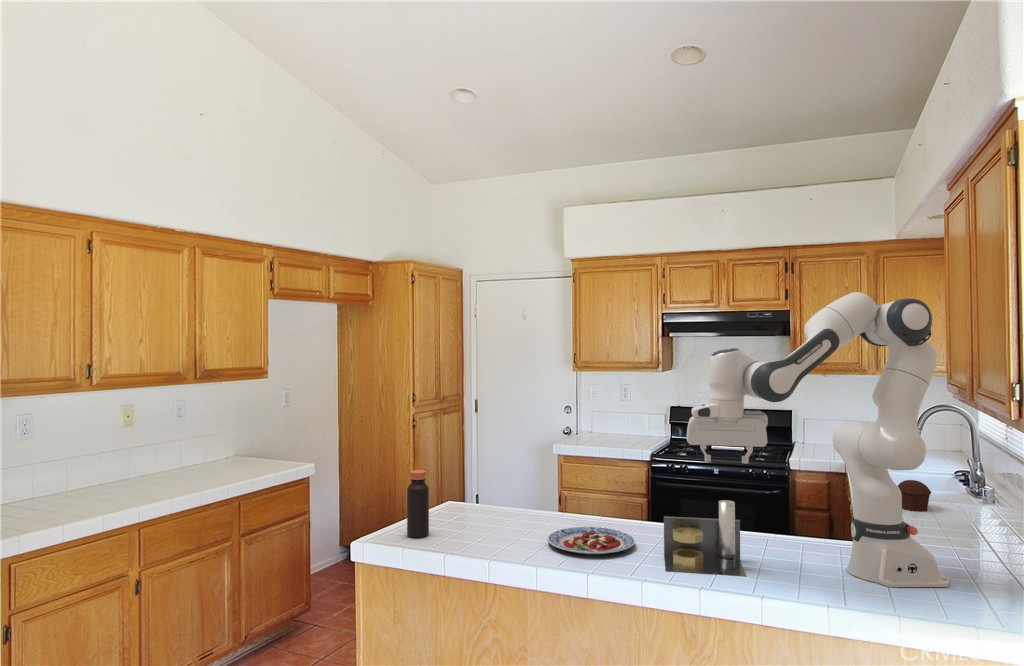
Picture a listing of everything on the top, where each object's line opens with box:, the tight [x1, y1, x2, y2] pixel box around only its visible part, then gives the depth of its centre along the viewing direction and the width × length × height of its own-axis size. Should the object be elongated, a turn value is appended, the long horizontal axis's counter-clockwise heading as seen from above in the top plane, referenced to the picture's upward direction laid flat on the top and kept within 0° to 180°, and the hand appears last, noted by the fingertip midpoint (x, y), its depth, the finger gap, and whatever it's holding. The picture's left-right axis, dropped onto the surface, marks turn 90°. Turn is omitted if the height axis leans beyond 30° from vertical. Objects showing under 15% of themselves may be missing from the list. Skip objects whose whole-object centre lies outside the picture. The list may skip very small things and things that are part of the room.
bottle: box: [406, 469, 430, 539], centre depth 207 cm, size 7×7×20 cm
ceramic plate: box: [546, 526, 636, 556], centre depth 196 cm, size 26×26×3 cm
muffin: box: [897, 479, 932, 513], centre depth 238 cm, size 12×11×10 cm
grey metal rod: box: [718, 499, 736, 570], centre depth 173 cm, size 4×4×17 cm
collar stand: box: [663, 515, 748, 578], centre depth 174 cm, size 20×13×12 cm, turn 79°
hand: (726, 462), depth 174 cm, fingers open, 8 cm apart
